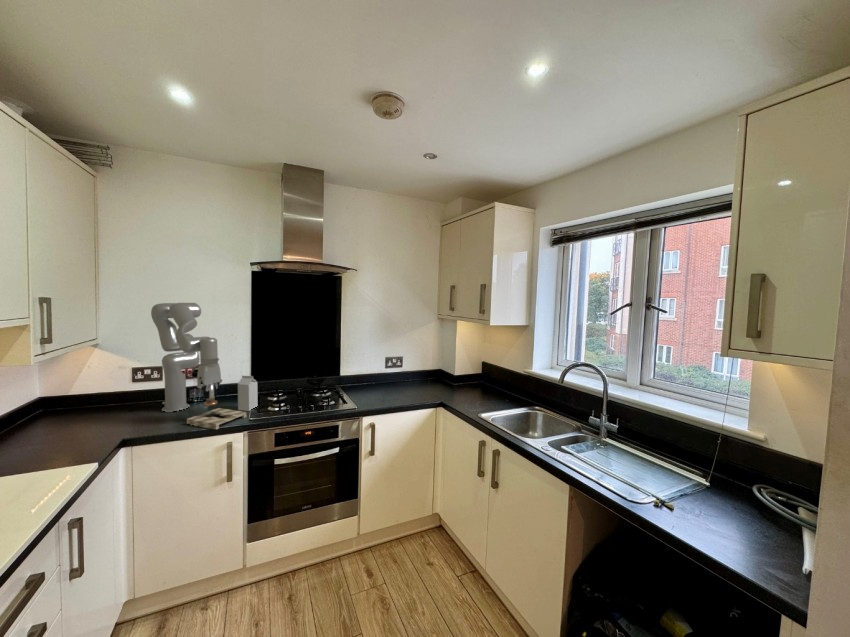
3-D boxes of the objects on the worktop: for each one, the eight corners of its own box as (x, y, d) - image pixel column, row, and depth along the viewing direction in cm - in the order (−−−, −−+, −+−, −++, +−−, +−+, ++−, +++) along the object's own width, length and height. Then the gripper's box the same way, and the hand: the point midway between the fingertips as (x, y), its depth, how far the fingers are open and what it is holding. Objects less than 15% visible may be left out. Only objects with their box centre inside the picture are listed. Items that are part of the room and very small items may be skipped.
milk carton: (249, 411, 188) (248, 377, 187) (238, 410, 190) (237, 377, 189) (257, 407, 195) (257, 375, 194) (247, 406, 197) (246, 374, 196)
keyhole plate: (186, 424, 168) (186, 418, 168) (218, 413, 185) (218, 407, 185) (216, 429, 162) (216, 423, 162) (246, 417, 179) (246, 411, 179)
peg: (200, 405, 172) (200, 384, 172) (211, 402, 178) (210, 381, 177) (209, 406, 170) (209, 385, 170) (220, 403, 176) (219, 382, 176)
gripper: (217, 359, 182) (218, 392, 183) (188, 364, 166) (189, 401, 167) (228, 359, 180) (229, 393, 181) (199, 365, 164) (200, 402, 165)
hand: (210, 396), depth 174 cm, fingers closed on peg, 3 cm apart
